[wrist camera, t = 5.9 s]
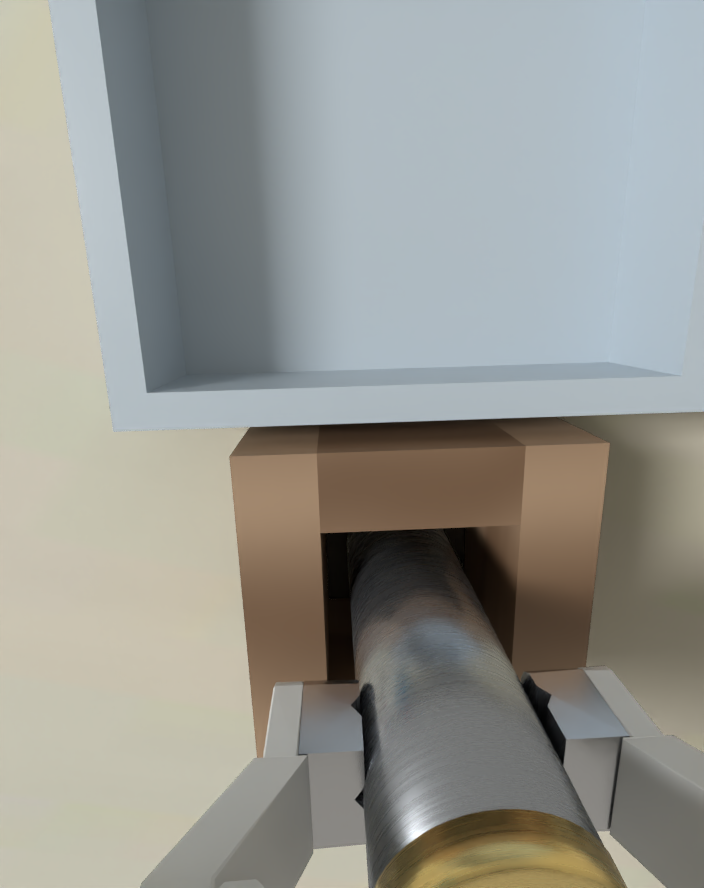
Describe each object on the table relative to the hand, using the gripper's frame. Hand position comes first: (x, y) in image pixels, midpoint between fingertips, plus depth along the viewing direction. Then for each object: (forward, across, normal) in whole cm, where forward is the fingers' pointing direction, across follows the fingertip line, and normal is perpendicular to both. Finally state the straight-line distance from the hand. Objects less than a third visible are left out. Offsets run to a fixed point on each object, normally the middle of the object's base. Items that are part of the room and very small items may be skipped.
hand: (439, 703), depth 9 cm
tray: (+7, 0, +11) cm, 13 cm away
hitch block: (+7, 0, 0) cm, 7 cm away
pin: (+7, 0, 0) cm, 7 cm away
